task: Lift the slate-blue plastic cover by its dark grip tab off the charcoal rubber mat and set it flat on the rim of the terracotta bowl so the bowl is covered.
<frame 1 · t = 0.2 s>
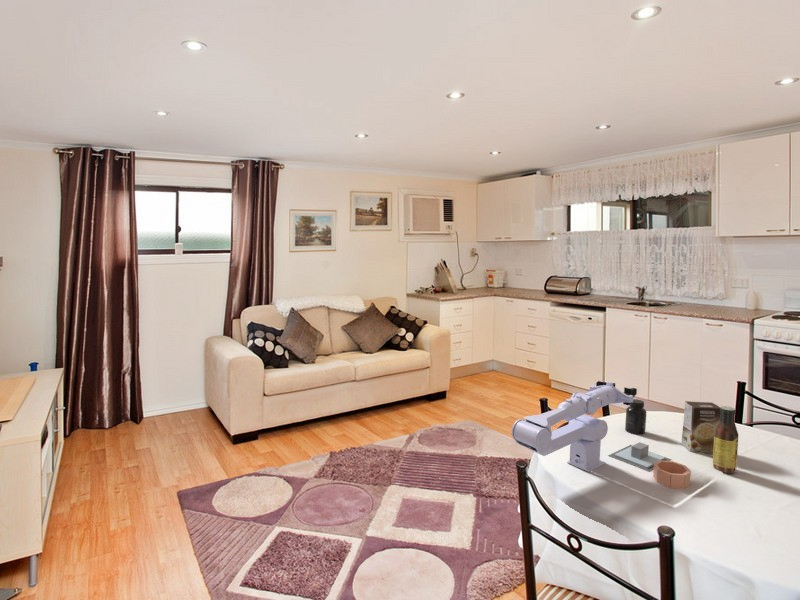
hand: (624, 388, 169), 21 cm above the table, tool horizontal, fingers open, 7 cm apart
mat: (639, 459, 163), on the table
supplement bottle: (635, 432, 185), on the table
bowl: (671, 481, 148), on the table
sauce bottle: (723, 470, 155), on the table
cover: (639, 457, 163), resting on mat
coffee box: (699, 450, 170), on the table
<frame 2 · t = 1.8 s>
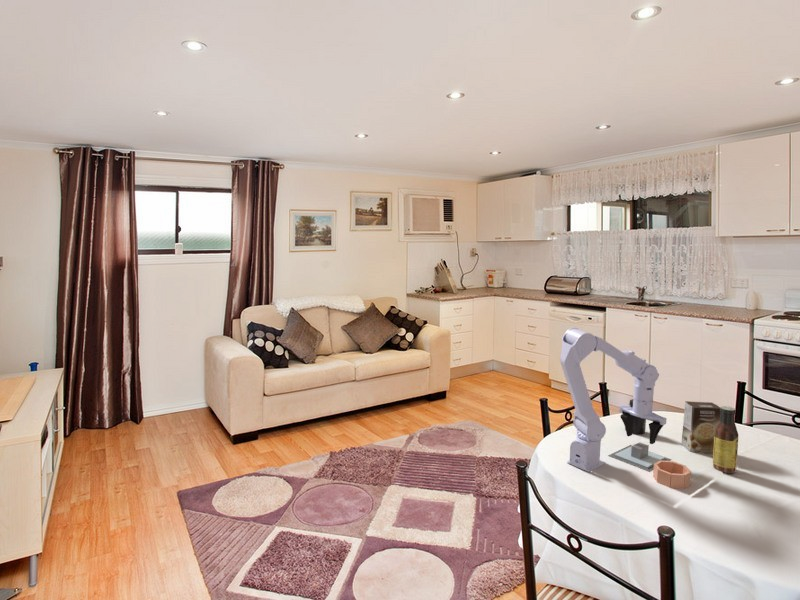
hand: (640, 439, 162), 7 cm above the table, tool pointing down, fingers open, 7 cm apart
nothing on the table moved.
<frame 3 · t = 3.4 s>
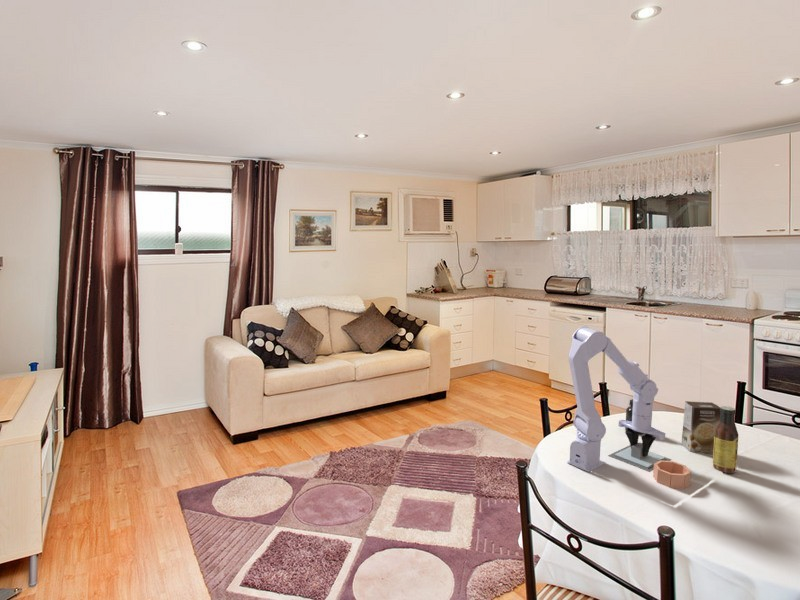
hand: (639, 453, 163), 2 cm above the table, tool pointing down, fingers closed on cover, 3 cm apart
cover: (639, 457, 163), resting on mat, touching gripper
everything else where it was.
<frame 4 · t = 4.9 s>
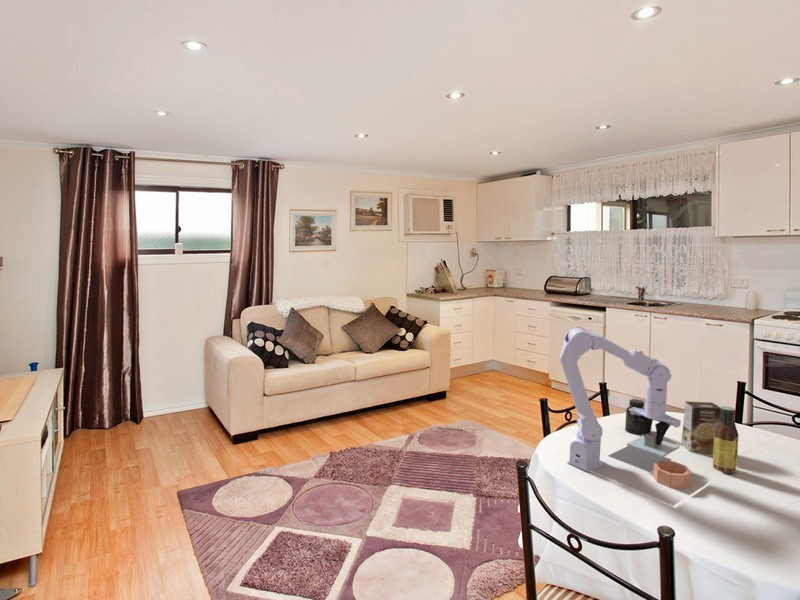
hand: (653, 442, 156), 8 cm above the table, tool pointing down, fingers closed on cover, 3 cm apart
cover: (652, 446, 156), point 7 cm above the table, touching gripper
everything else where it was.
when the fingers open (7 cm above the table, at t = 6.5 s): cover stays where it is, resting on bowl.
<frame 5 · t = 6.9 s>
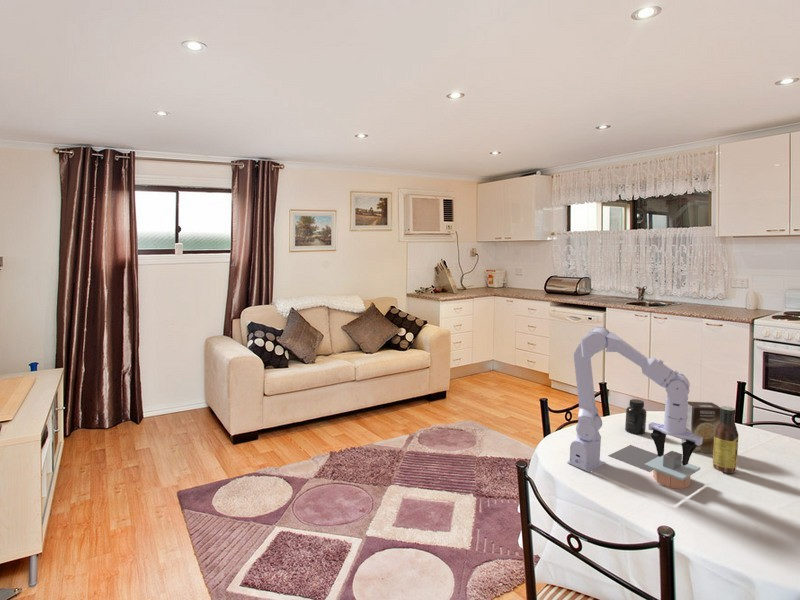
hand: (672, 459, 147), 7 cm above the table, tool pointing down, fingers open, 6 cm apart
bowl: (671, 481, 148), on the table, touching cover
cover: (672, 467, 147), point 4 cm above the table, touching bowl
everything else where it was.
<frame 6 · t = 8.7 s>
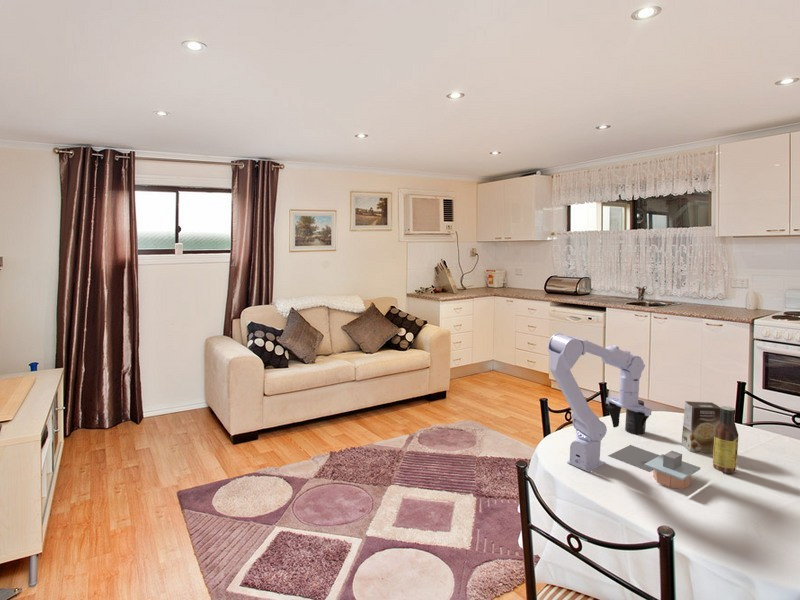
hand: (626, 430, 163), 9 cm above the table, tool pointing down, fingers open, 7 cm apart
nothing on the table moved.
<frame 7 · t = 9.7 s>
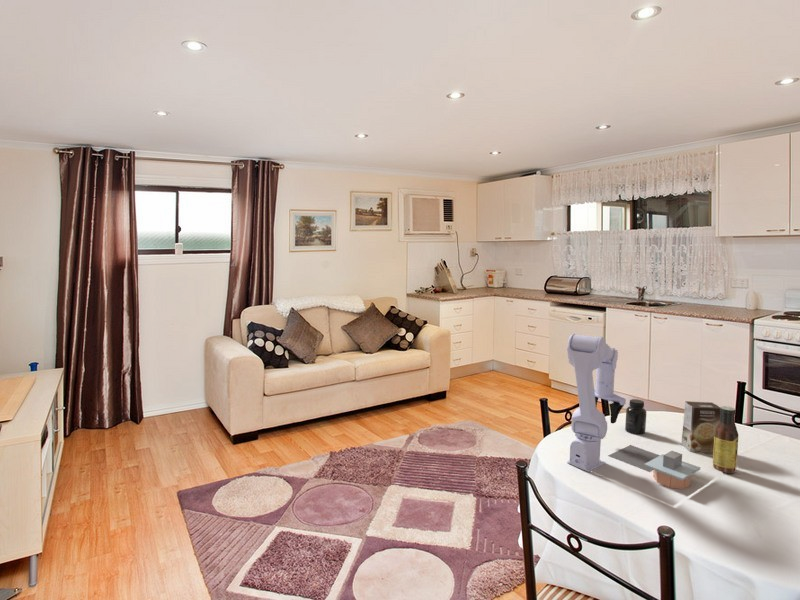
hand: (603, 419, 172), 9 cm above the table, tool pointing down, fingers open, 7 cm apart
nothing on the table moved.
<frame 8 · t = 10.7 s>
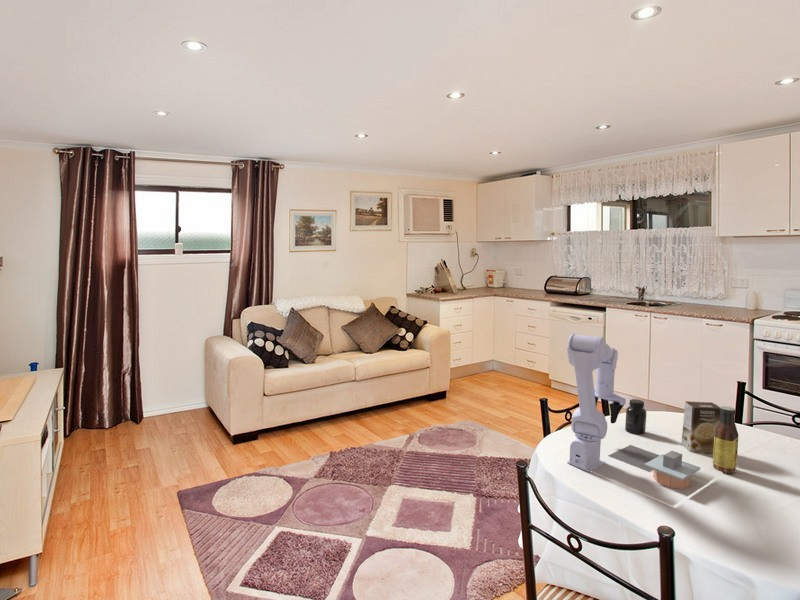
hand: (603, 419, 172), 9 cm above the table, tool pointing down, fingers open, 7 cm apart
nothing on the table moved.
at the end: cover 0.0 cm from the bowl (horizontally); cover point 4.5 cm above the table; cover tilted 0° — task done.
